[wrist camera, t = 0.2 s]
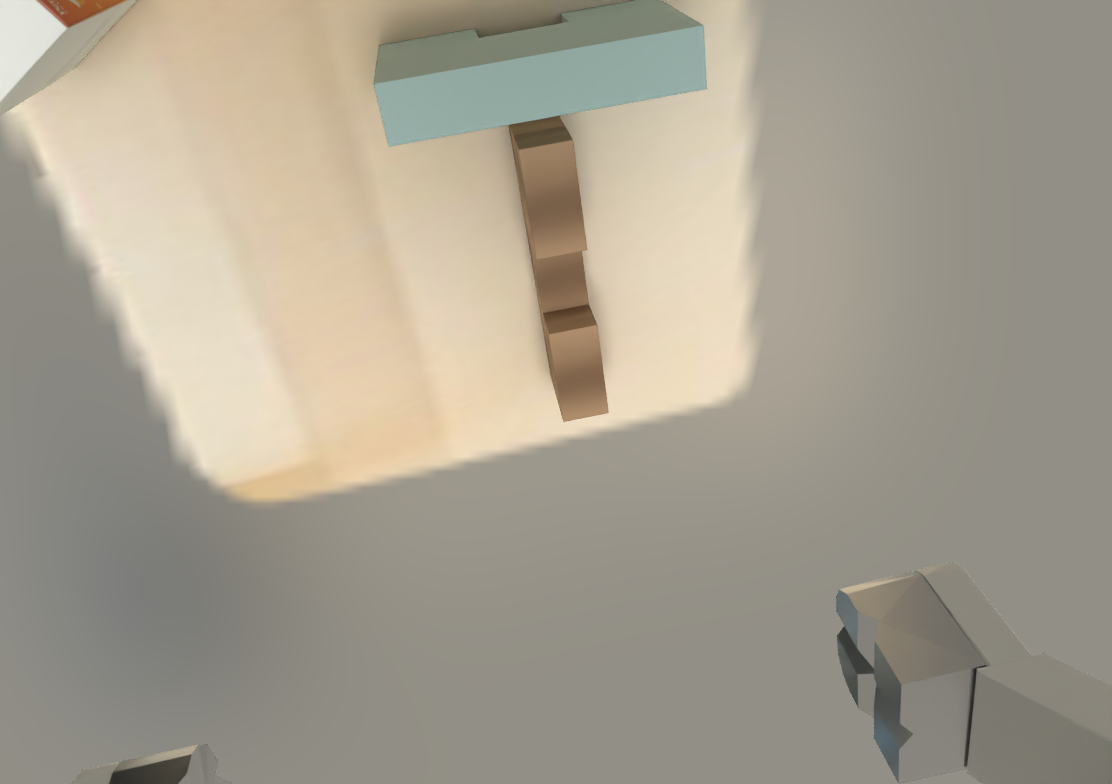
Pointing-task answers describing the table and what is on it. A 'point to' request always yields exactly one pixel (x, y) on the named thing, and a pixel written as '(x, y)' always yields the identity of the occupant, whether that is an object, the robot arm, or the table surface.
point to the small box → (48, 41)
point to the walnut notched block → (559, 263)
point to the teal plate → (537, 70)
